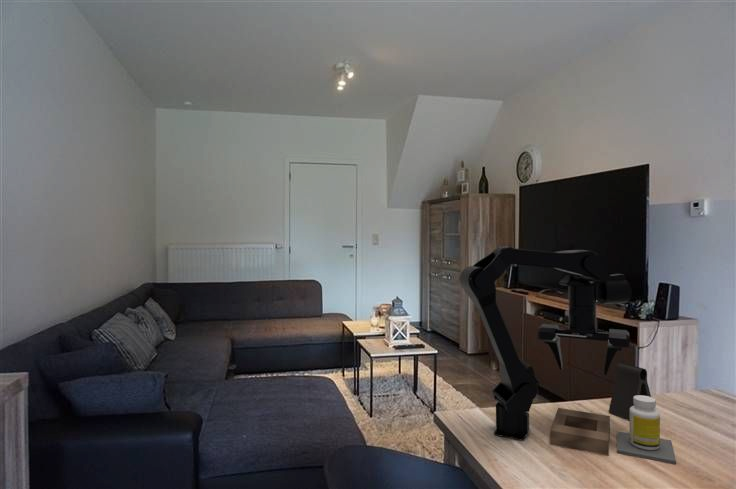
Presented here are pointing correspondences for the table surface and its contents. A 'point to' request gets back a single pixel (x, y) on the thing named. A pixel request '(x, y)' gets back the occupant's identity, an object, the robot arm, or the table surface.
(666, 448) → the coaster
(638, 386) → the phone stand
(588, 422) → the pocket holder
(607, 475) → the table surface
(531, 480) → the table surface
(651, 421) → the supplement bottle
